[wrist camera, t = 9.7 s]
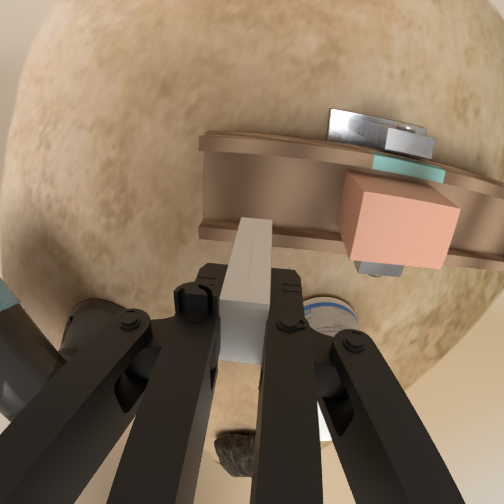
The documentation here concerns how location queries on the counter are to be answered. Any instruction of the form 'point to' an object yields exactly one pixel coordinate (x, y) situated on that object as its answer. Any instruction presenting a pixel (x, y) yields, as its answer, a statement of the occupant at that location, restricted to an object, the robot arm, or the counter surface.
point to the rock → (236, 453)
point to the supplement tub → (328, 330)
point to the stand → (383, 138)
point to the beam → (333, 193)
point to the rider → (395, 221)
